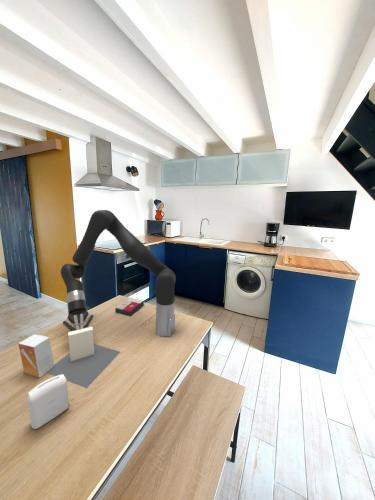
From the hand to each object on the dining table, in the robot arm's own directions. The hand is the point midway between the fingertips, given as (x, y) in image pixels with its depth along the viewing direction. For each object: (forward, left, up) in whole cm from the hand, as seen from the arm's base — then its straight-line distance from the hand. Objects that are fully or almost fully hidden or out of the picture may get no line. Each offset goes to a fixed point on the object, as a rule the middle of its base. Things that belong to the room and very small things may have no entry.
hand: (80, 339), depth 90 cm
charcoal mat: (-6, +4, -6) cm, 10 cm away
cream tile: (-3, +2, -6) cm, 7 cm away
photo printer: (-13, +25, -7) cm, 29 cm away
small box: (+7, +14, -6) cm, 17 cm away
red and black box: (+2, -42, -7) cm, 42 cm away
